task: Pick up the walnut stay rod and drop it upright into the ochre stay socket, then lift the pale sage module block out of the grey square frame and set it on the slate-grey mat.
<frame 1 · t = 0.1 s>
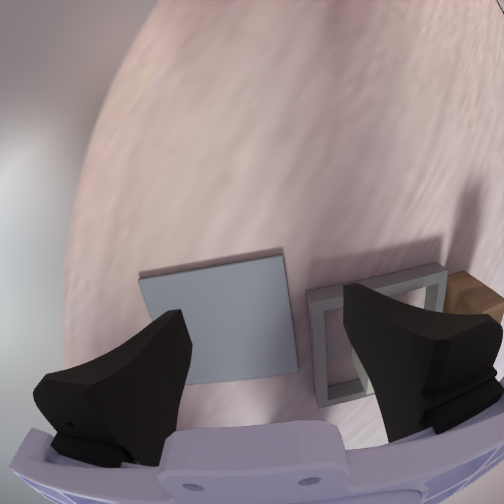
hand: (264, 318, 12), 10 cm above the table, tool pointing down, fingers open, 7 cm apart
slate mat: (223, 330, 24), on the table
module block: (375, 335, 24), resting in grey square frame
stay rod: (451, 289, 23), on the table
grey square frame: (376, 336, 24), on the table
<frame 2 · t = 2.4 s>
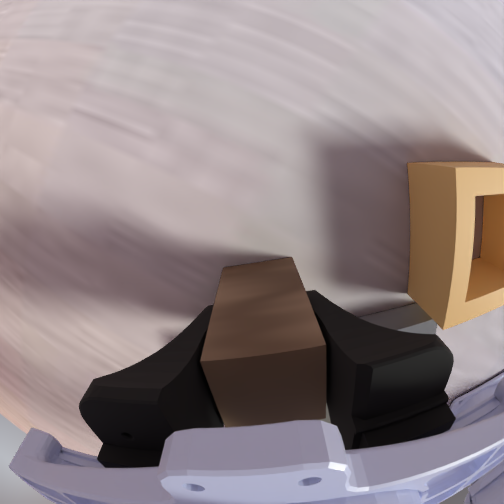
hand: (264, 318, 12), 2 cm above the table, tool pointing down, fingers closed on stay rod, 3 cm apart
stay socket: (457, 224, 13), on the table
stay rod: (262, 293, 14), on the table, touching gripper
grey square frame: (324, 398, 17), on the table
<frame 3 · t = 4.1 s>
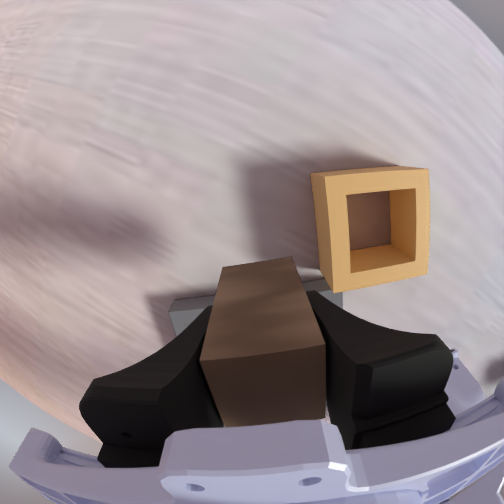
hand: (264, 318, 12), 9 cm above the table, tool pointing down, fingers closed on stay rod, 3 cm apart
stay socket: (362, 217, 20), on the table
stay rod: (262, 292, 14), point 7 cm above the table, touching gripper
grey square frame: (264, 353, 24), on the table
when the fingers open (5 cm above the table, at t = 6.0 s): stay rod drops 3 cm, resting in stay socket.
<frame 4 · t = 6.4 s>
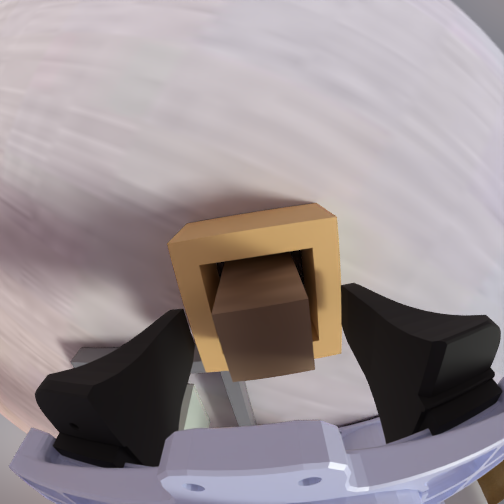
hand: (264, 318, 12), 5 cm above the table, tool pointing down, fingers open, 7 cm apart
cylinder vase: (428, 465, 28), on the table
module block: (174, 403, 21), resting in grey square frame
plant pot: (479, 452, 31), on the table
stay socket: (261, 273, 17), on the table
stay rod: (261, 273, 17), resting in stay socket
grey square frame: (174, 404, 20), on the table
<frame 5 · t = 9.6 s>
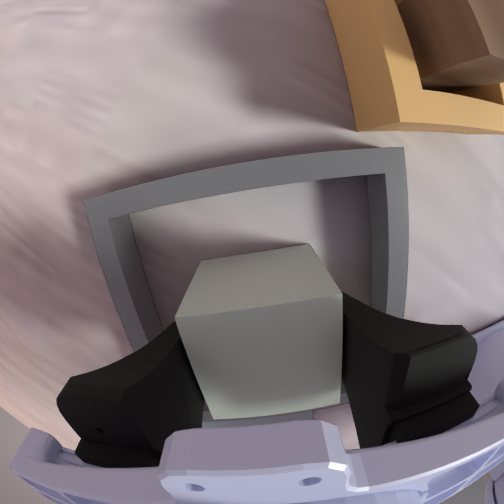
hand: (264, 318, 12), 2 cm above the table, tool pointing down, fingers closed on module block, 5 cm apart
slate mat: (237, 453, 18), on the table
module block: (263, 300, 13), resting in grey square frame, touching gripper
stay socket: (408, 62, 10), on the table
stay rod: (408, 62, 10), resting in stay socket
grey square frame: (263, 300, 13), on the table
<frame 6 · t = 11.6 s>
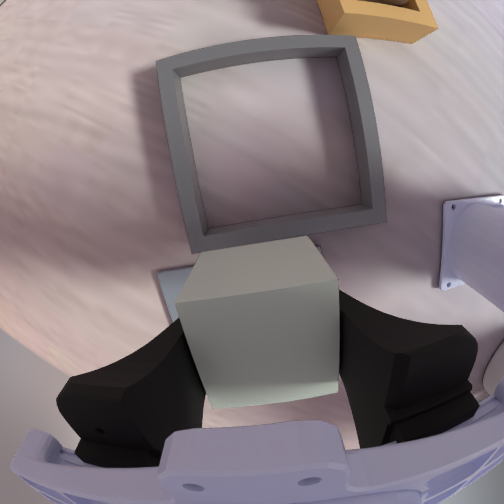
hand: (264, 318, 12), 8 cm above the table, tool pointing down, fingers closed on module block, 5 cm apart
slate mat: (250, 328, 22), on the table
module block: (262, 292, 14), point 6 cm above the table, touching gripper
stay socket: (360, 2, 13), on the table
stay rod: (360, 2, 13), resting in stay socket
grey square frame: (274, 135, 17), on the table
when the fingers open (3 cm above the table, at t = 13.7 s): module block stays where it is, resting on slate mat.
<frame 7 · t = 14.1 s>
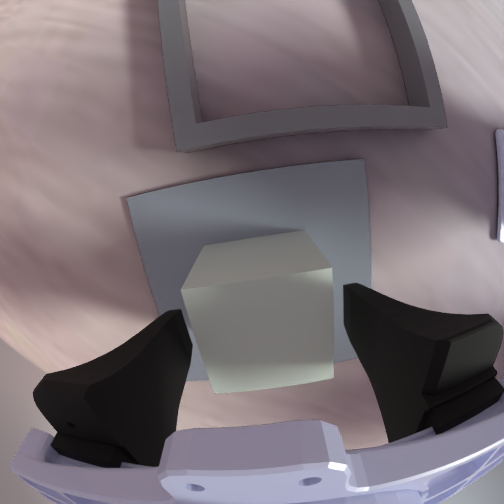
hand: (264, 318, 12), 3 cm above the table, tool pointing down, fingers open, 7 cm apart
slate mat: (262, 286, 15), on the table
module block: (261, 284, 14), resting on slate mat
grey square frame: (295, 20, 10), on the table
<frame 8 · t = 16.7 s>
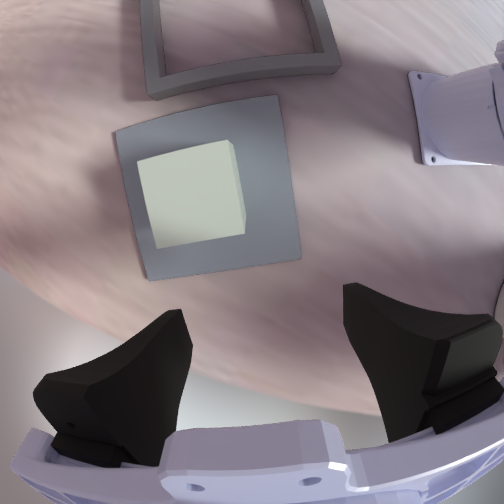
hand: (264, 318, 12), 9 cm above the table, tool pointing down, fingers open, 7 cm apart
slate mat: (206, 190, 19), on the table
module block: (204, 187, 19), resting on slate mat
grey square frame: (231, 11, 15), on the table
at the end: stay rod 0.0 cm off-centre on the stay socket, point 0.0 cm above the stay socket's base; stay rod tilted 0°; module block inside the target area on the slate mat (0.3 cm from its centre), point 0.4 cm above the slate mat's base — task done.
